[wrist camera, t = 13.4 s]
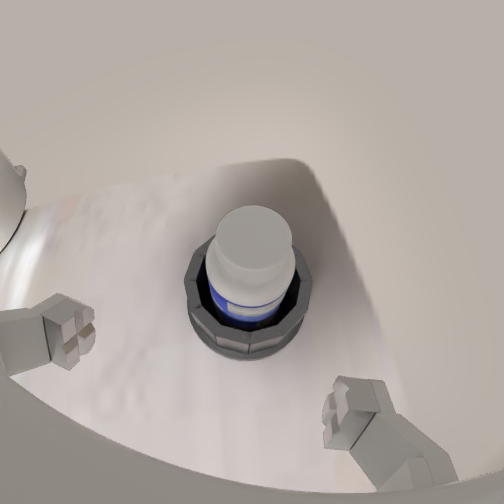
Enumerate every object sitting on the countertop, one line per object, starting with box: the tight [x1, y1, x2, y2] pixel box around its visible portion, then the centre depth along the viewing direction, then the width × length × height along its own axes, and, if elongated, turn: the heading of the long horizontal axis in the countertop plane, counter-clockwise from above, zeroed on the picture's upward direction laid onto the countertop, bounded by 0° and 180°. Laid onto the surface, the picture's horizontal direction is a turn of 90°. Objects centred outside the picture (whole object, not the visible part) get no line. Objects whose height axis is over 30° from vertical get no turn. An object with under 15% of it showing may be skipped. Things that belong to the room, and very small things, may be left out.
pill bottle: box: [206, 205, 295, 330], centre depth 19 cm, size 5×5×10 cm
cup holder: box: [184, 234, 312, 361], centre depth 22 cm, size 10×10×5 cm
